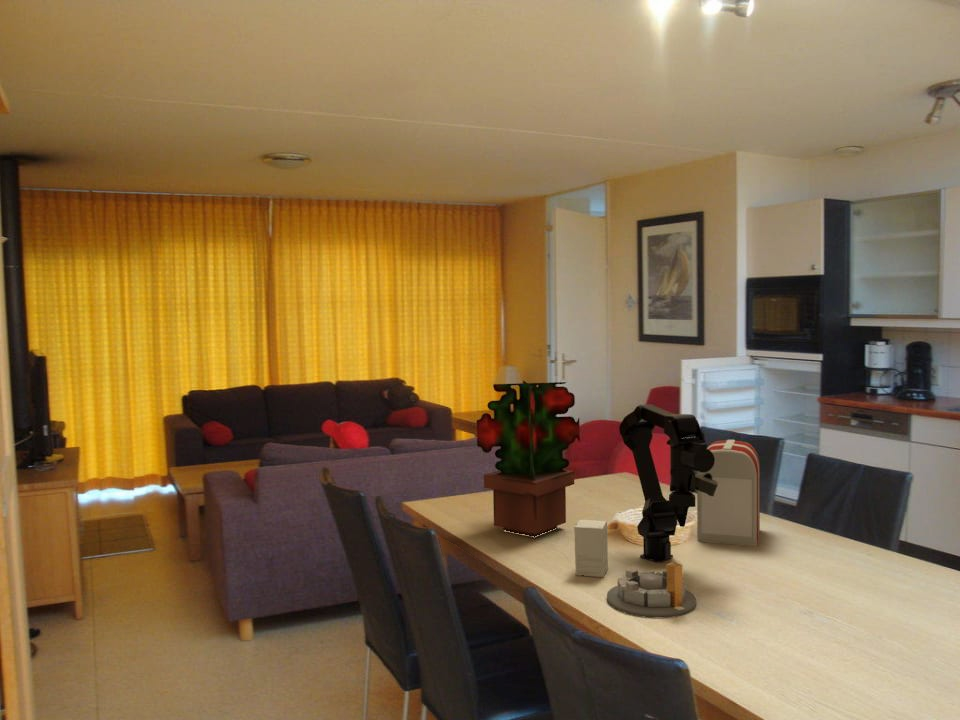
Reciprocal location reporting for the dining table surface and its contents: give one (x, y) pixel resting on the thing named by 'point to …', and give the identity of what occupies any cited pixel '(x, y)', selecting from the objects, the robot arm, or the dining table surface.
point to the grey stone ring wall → (653, 598)
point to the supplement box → (591, 548)
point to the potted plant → (529, 455)
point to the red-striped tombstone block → (731, 496)
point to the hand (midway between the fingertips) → (682, 526)
